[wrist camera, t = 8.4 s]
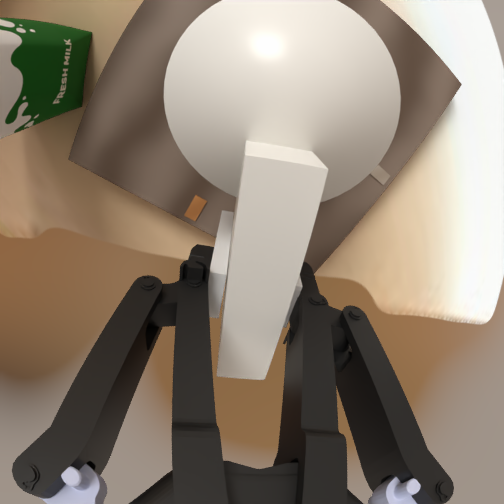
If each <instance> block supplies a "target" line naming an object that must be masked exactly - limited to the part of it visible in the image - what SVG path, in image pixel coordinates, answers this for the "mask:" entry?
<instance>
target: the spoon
mask: <svg viewBox="0 0 504 504" xmlns="http://www.w3.org/2000/svg"><path fill="white" fill-rule="evenodd" d="M400 102H401V95H400V85H399V80H398V75H397V71H396V68H395V65H394V63H393V60H392V57H391V55H390V53H389V51H388V49H387V48H386V46H385V44H384V42H383V41H382V40H381V38H380V37H379V35H378V34H377V33H376V31H375V30H374V29H373V28H372V27H371V26H370V25H369V24H368V23H367V22H366V21H365V20H364V19H363V18H362V17H361V16H360V15H358V14H357V13H356V12H355V11H353V10H352V9H351V8H349V7H347V6H346V5H344V4H342V3H341V2H339V1H337V0H221V1H220V2H218V3H216V4H214V5H213V6H211V7H210V8H209V9H207V10H206V11H205V12H203V13H202V14H201V15H199V16H198V17H197V18H196V19H195V20H194V21H193V22H192V23H191V25H190V26H189V27H188V28H187V29H186V31H185V32H184V33H183V35H182V36H181V37H180V39H179V41H178V43H177V44H176V46H175V48H174V50H173V52H172V55H171V57H170V60H169V63H168V66H167V70H166V75H165V81H164V105H165V113H166V117H167V121H168V125H169V128H170V130H171V133H172V135H173V138H174V140H175V142H176V144H177V145H178V147H179V149H180V151H181V152H182V154H183V155H184V156H185V158H186V159H187V160H188V162H189V163H190V164H191V165H192V167H193V168H194V169H195V170H196V171H197V172H198V173H199V174H200V175H201V176H203V177H204V178H205V179H206V180H208V181H209V182H210V183H212V184H213V185H214V186H216V187H218V188H219V189H221V190H223V191H224V192H226V193H228V194H230V195H232V196H235V197H236V204H235V211H234V219H233V227H232V234H231V242H230V250H229V258H228V267H227V275H226V283H225V291H224V300H223V310H222V321H221V332H220V343H219V355H218V367H217V376H219V377H229V378H242V379H255V380H265V377H266V374H267V371H268V369H269V366H270V363H271V360H272V357H273V354H274V352H275V349H276V346H277V343H278V340H279V337H280V334H281V331H282V328H283V325H284V322H285V319H286V316H287V313H288V310H289V307H290V304H291V300H292V297H293V294H294V291H295V288H296V284H297V281H298V278H299V275H300V271H301V268H302V265H303V261H304V258H305V254H306V251H307V248H308V244H309V241H310V237H311V234H312V230H313V226H314V223H315V219H316V215H317V212H318V208H319V204H320V202H324V201H327V200H329V199H332V198H334V197H337V196H339V195H341V194H342V193H344V192H346V191H348V190H350V189H351V188H353V187H354V186H356V185H357V184H358V183H360V182H361V181H362V180H363V179H365V178H366V177H367V176H368V175H369V174H370V173H371V172H372V171H373V170H374V169H375V167H376V166H377V165H378V164H379V163H380V161H381V160H382V158H383V157H384V155H385V154H386V152H387V150H388V149H389V146H390V144H391V142H392V140H393V138H394V135H395V132H396V129H397V125H398V121H399V115H400Z"/></svg>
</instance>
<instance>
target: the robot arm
mask: <svg viewBox="0 0 504 504" xmlns="http://www.w3.org/2000/svg"><path fill="white" fill-rule="evenodd" d="M233 217H234V212H229V211H224V210H222V213H221V218H220V223H219V227H218V232H217V237H216V241H215V246H214V247H210V246H204V245H198V244H197V245H196V246H194V247H193V248H192V250H191V253H190V256H189V259H188V260H186V261H184V262H183V263H182V264H181V266H180V279H179V281H177V282H175V283H171V284H162V282H161V280H159V279H158V278H156V277H154V276H142V277H139V278H138V279H137V280H136V281H135V282H134V283H133V284H132V286H131V287H130V289H129V290H128V292H127V293H126V295H125V297H124V298H123V300H122V301H121V303H120V304H119V306H118V307H117V309H116V310H115V312H114V314H113V315H112V317H111V318H110V320H109V322H108V323H107V325H106V326H105V328H104V330H103V331H102V333H101V335H100V336H99V338H98V340H97V341H96V343H95V345H94V346H93V348H92V350H91V352H90V353H89V355H88V357H87V358H86V360H85V362H84V364H83V365H82V367H81V369H80V371H79V373H78V374H77V376H76V378H75V380H74V382H73V383H72V385H71V387H70V389H69V391H68V393H67V395H66V397H65V399H64V401H63V403H62V405H61V406H60V408H59V410H58V413H57V415H56V417H55V419H54V421H53V423H52V425H51V427H50V428H48V429H47V430H46V431H45V432H44V433H43V434H42V435H41V436H40V437H39V438H38V439H37V440H36V441H35V442H34V443H32V444H31V445H30V446H29V447H28V448H27V449H26V450H25V451H24V452H23V453H22V454H21V455H20V456H19V457H17V459H16V460H15V462H14V463H13V468H12V473H13V477H14V480H15V481H16V483H17V485H18V486H19V487H20V488H21V489H23V491H25V492H27V493H30V494H32V495H34V496H37V497H39V498H41V499H43V500H44V501H45V502H46V503H47V504H103V502H104V499H105V497H106V494H107V486H106V483H105V481H104V479H103V478H102V477H101V476H100V475H101V473H102V471H103V470H104V468H105V466H106V465H107V463H108V460H109V458H110V456H111V453H112V450H113V447H114V445H115V442H116V439H117V437H118V434H119V431H120V429H121V426H122V424H123V421H124V418H125V416H126V413H127V411H128V408H129V406H130V403H131V401H132V398H133V396H134V393H135V391H136V388H137V385H138V383H139V381H140V378H141V376H142V373H143V371H144V369H145V366H146V364H147V362H148V359H149V357H150V355H151V352H152V350H153V348H154V346H155V343H156V340H157V339H158V336H159V334H160V332H161V330H162V327H163V326H176V328H175V345H174V365H173V366H174V367H173V398H172V466H173V470H172V471H170V472H169V473H167V474H166V475H165V476H164V477H163V478H161V479H160V480H159V481H157V482H156V483H155V484H154V485H153V486H151V487H150V488H149V489H147V490H146V491H145V492H144V493H142V494H141V495H140V496H138V497H137V498H136V499H134V500H133V501H132V502H130V503H129V504H363V503H362V502H361V501H360V500H359V499H358V498H357V497H356V496H354V495H353V494H352V493H351V492H350V491H349V490H348V489H347V447H346V445H347V444H346V438H345V436H344V435H343V434H341V433H339V431H338V415H337V414H338V413H337V394H336V386H337V389H338V392H339V395H340V398H341V401H342V405H343V407H344V411H345V414H346V417H347V420H348V424H349V427H350V430H351V433H352V436H353V440H354V443H355V446H356V450H357V453H358V456H359V460H360V463H361V467H362V469H363V472H364V476H365V478H366V481H367V483H368V485H369V487H370V488H371V490H372V491H373V494H372V496H371V497H370V498H369V500H368V504H444V503H446V502H447V501H448V500H449V499H450V498H451V496H452V494H453V490H454V486H453V482H452V480H451V478H450V477H449V476H448V474H447V473H446V472H445V471H444V469H443V468H442V467H441V465H440V464H439V463H438V462H437V460H436V459H435V458H434V457H433V455H432V454H431V453H430V452H429V450H428V449H427V446H426V444H425V441H424V438H423V436H422V434H421V431H420V429H419V426H418V424H417V421H416V419H415V417H414V414H413V412H412V410H411V407H410V405H409V403H408V401H407V398H406V396H405V394H404V391H403V389H402V387H401V385H400V383H399V381H398V379H397V376H396V374H395V372H394V370H393V368H392V366H391V364H390V362H389V359H388V358H387V355H386V353H385V351H384V349H383V347H382V346H381V344H380V341H379V339H378V337H377V335H376V333H375V332H374V330H373V328H372V326H371V324H370V322H369V320H368V318H367V316H366V314H365V313H364V312H363V311H362V310H361V309H360V308H357V307H355V306H346V307H344V309H343V311H340V310H338V309H335V308H332V307H330V306H329V305H328V302H327V300H326V298H325V297H324V296H322V295H320V293H319V290H318V287H317V283H316V280H315V276H314V273H313V270H312V267H311V266H310V265H309V264H308V263H307V262H303V265H302V268H301V271H300V275H299V278H298V281H297V284H296V288H295V291H294V294H293V297H292V300H291V304H290V307H289V310H288V313H287V316H286V319H285V322H284V325H283V327H287V324H288V322H289V321H290V328H289V330H288V333H287V335H286V337H285V340H284V342H283V344H285V343H286V341H287V347H286V362H285V378H284V390H283V403H282V414H281V426H280V436H279V446H278V453H277V456H276V458H275V461H274V464H273V467H268V468H264V469H255V468H251V467H248V466H244V465H240V464H237V463H233V462H230V461H223V458H222V449H221V439H220V432H219V428H218V426H217V423H216V414H215V402H214V390H213V376H212V360H211V342H210V325H209V324H210V322H209V317H213V318H219V313H220V307H221V302H222V297H223V291H224V286H225V281H226V275H227V267H228V258H229V250H230V241H231V233H232V225H233ZM351 349H352V350H351Z"/></svg>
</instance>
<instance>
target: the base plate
mask: <svg viewBox="0 0 504 504" xmlns="http://www.w3.org/2000/svg"><path fill="white" fill-rule="evenodd" d="M220 1H221V0H144V1H143V3H142V4H141V6H140V7H139V8H138V10H137V11H136V13H135V15H134V16H133V18H132V19H131V21H130V22H129V24H128V26H127V27H126V29H125V31H124V32H123V34H122V36H121V37H120V39H119V41H118V43H117V44H116V46H115V48H114V50H113V52H112V54H111V55H110V57H109V59H108V61H107V63H106V65H105V67H104V69H103V71H102V73H101V75H100V77H99V80H98V82H97V84H96V86H95V88H94V91H93V93H92V95H91V98H90V100H89V102H88V105H87V107H86V110H85V112H84V115H83V118H82V120H81V123H80V126H79V128H78V131H77V134H76V137H75V140H74V143H73V146H72V149H71V152H70V156H69V159H68V160H70V161H72V162H74V163H76V164H78V165H80V166H82V167H83V168H85V169H87V170H89V171H91V172H93V173H95V174H97V175H98V176H100V177H102V178H104V179H106V180H108V181H110V182H112V183H113V184H115V185H117V186H119V187H121V188H123V189H125V190H127V191H129V192H130V193H132V194H134V195H136V196H138V197H140V198H142V199H144V200H146V201H147V202H149V203H151V204H153V205H155V206H157V207H159V208H161V209H163V210H164V211H166V212H168V213H170V214H172V215H174V216H176V217H178V218H180V219H182V220H183V221H185V222H187V223H189V224H191V225H193V226H195V227H197V228H199V229H201V230H202V231H204V232H206V233H208V234H210V235H212V236H214V237H217V232H218V227H219V223H220V218H221V213H222V210H224V211H229V212H234V211H235V204H236V197H235V196H232V195H230V194H228V193H226V192H224V191H223V190H221V189H219V188H218V187H216V186H214V185H213V184H212V183H210V182H209V181H208V180H206V179H205V178H204V177H203V176H201V175H200V174H199V173H198V172H197V171H196V170H195V169H194V168H193V167H192V165H191V164H190V163H189V162H188V160H187V159H186V158H185V156H184V155H183V154H182V152H181V151H180V149H179V147H178V145H177V144H176V142H175V140H174V138H173V135H172V133H171V130H170V128H169V125H168V121H167V117H166V113H165V105H164V81H165V75H166V70H167V66H168V63H169V60H170V57H171V55H172V52H173V50H174V48H175V46H176V44H177V43H178V41H179V39H180V37H181V36H182V35H183V33H184V32H185V31H186V29H187V28H188V27H189V26H190V25H191V23H192V22H193V21H194V20H195V19H196V18H197V17H198V16H199V15H201V14H202V13H203V12H205V11H206V10H207V9H209V8H210V7H211V6H213V5H214V4H216V3H218V2H220ZM337 1H339V2H341V3H342V4H344V5H346V6H347V7H349V8H351V9H352V10H353V11H355V12H356V13H357V14H358V15H360V16H361V17H362V18H363V19H364V20H365V21H366V22H367V23H368V24H369V25H370V26H371V27H372V28H373V29H374V30H375V31H376V33H377V34H378V35H379V37H380V38H381V40H382V41H383V42H384V44H385V46H386V48H387V49H388V51H389V53H390V55H391V57H392V60H393V63H394V65H395V68H396V71H397V75H398V80H399V85H400V95H401V102H400V115H399V121H398V125H397V129H396V132H395V135H394V138H393V140H392V142H391V144H390V146H389V149H388V150H387V152H386V154H385V155H384V157H383V158H382V160H381V161H380V163H379V164H378V165H377V166H376V167H375V169H374V170H373V171H372V172H371V173H370V174H369V175H368V176H367V177H366V178H365V179H363V180H362V181H361V182H360V183H358V184H357V185H356V186H354V187H353V188H351V189H350V190H348V191H346V192H344V193H342V194H341V195H339V196H337V197H334V198H332V199H329V200H327V201H324V202H320V204H319V208H318V212H317V215H316V219H315V223H314V226H313V230H312V234H311V237H310V241H309V244H308V248H307V251H306V254H305V258H304V261H303V262H307V263H308V264H309V265H310V266H311V267H312V270H313V273H315V272H316V271H317V269H318V268H319V267H320V266H321V265H322V264H323V263H324V262H325V261H326V259H327V258H328V257H329V256H330V255H331V254H332V253H333V252H334V250H335V249H336V248H337V247H338V246H339V245H340V243H341V242H342V241H343V240H344V239H345V238H346V237H347V235H348V234H349V233H350V232H351V231H352V230H353V228H354V227H355V226H356V225H357V224H358V222H359V221H360V220H361V219H362V218H363V216H364V215H365V214H366V213H367V212H368V210H369V209H370V208H371V207H372V206H373V204H374V203H375V202H376V201H377V199H378V198H379V197H380V196H381V194H382V193H383V192H384V191H385V189H386V188H387V187H388V186H389V184H390V183H391V182H392V181H393V179H394V178H395V177H396V176H397V174H398V173H399V172H400V170H401V169H402V168H403V166H404V165H405V164H406V163H407V161H408V160H409V159H410V157H411V156H412V155H413V153H414V152H415V151H416V149H417V148H418V147H419V145H420V144H421V142H422V141H423V140H424V138H425V137H426V136H427V134H428V133H429V131H430V130H431V129H432V127H433V126H434V124H435V123H436V122H437V120H438V119H439V117H440V116H441V115H442V113H443V112H444V110H445V109H446V107H447V106H448V104H449V103H450V101H451V100H452V98H453V97H454V95H455V94H456V92H457V91H458V89H459V88H460V86H461V85H462V84H461V83H460V82H459V80H458V79H457V78H456V77H455V75H454V74H453V73H452V72H451V70H450V69H449V68H448V67H447V66H446V64H445V63H444V62H443V61H442V60H441V59H440V57H439V56H438V55H437V54H436V53H435V52H434V51H433V50H432V48H431V47H430V46H429V45H428V44H427V43H426V42H425V41H424V40H423V39H422V38H421V37H420V36H419V35H418V34H417V33H416V32H415V31H414V30H413V29H412V28H411V27H410V26H409V25H408V24H407V23H406V22H405V21H403V20H402V19H401V18H400V17H399V16H398V15H397V14H396V13H395V12H393V11H392V10H391V9H390V8H389V7H388V6H386V5H385V4H384V3H383V2H381V1H380V0H337ZM233 219H234V217H233ZM232 227H233V225H232ZM231 234H232V233H231ZM230 242H231V241H230Z"/></svg>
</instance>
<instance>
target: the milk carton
mask: <svg viewBox="0 0 504 504" xmlns="http://www.w3.org/2000/svg"><path fill="white" fill-rule="evenodd" d="M91 35H92V32H88V31H84V30H80V29H76V28H72V27H67V26H63V25H58V24H53V23H47V22H41V21H34V20H26V19H15V18H0V139H1V138H4V137H6V136H9V135H11V134H14V133H16V132H19V131H21V130H24V129H26V128H29V127H31V126H33V125H36V124H38V123H40V122H43V121H45V120H47V119H50V118H52V117H55V116H57V115H60V114H62V113H65V112H68V111H71V110H73V109H76V108H79V107H82V98H83V88H84V79H85V71H86V64H87V57H88V51H89V46H90V40H91Z"/></svg>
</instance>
